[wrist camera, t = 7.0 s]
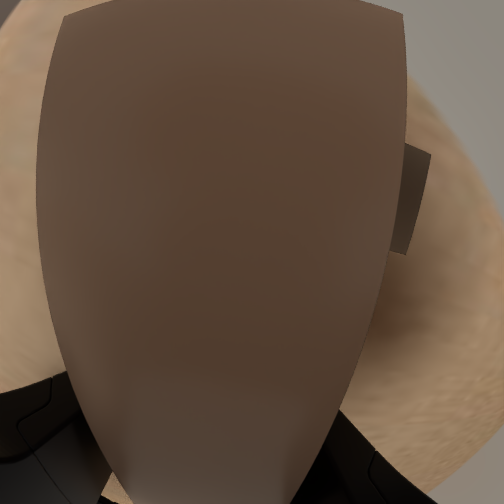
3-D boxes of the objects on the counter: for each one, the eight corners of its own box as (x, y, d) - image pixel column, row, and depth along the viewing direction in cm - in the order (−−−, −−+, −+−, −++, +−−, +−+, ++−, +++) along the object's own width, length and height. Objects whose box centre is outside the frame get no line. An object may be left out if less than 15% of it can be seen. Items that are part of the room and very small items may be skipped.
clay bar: (259, 462, 10) (254, 553, 6) (184, 452, 11) (161, 539, 6) (317, 106, 6) (402, 14, 2) (181, 96, 6) (64, 16, 2)
